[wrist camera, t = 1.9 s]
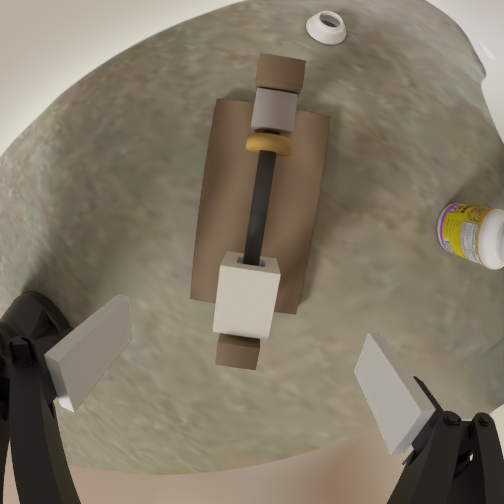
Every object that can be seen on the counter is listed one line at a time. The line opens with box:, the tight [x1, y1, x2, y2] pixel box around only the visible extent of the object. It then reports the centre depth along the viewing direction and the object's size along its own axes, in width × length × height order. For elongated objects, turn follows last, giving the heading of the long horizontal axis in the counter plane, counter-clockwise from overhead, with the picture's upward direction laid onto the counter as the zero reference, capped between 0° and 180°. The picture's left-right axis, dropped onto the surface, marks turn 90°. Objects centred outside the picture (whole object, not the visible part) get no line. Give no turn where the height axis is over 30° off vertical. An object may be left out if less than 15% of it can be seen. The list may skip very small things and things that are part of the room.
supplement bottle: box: [437, 203, 504, 269], centre depth 23 cm, size 7×7×13 cm
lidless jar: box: [306, 11, 346, 45], centre depth 23 cm, size 5×3×5 cm
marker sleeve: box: [213, 251, 281, 340], centre depth 21 cm, size 4×5×4 cm
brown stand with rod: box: [190, 53, 330, 370], centre depth 23 cm, size 12×22×13 cm, turn 172°
